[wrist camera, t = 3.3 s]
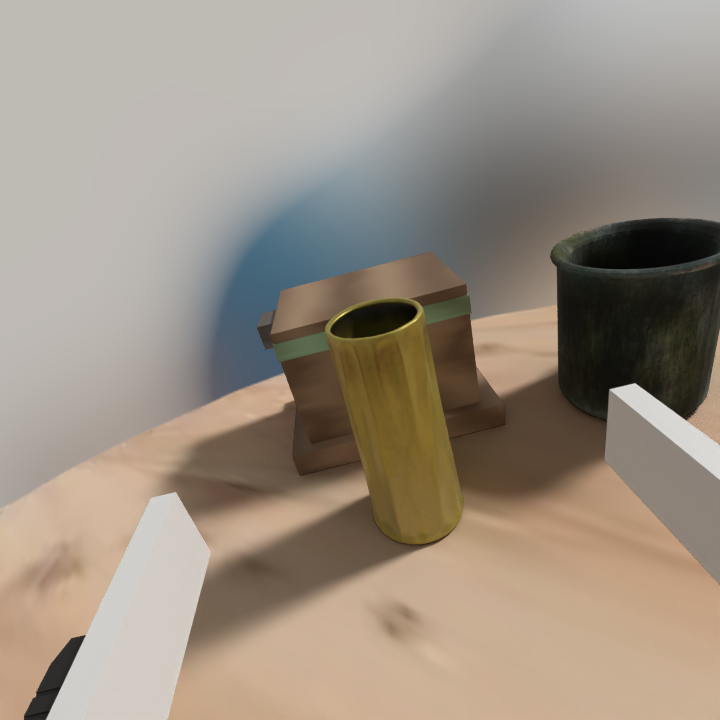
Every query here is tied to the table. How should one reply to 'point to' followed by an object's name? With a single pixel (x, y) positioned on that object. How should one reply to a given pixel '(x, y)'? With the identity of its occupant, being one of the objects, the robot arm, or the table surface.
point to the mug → (638, 311)
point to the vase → (397, 417)
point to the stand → (318, 373)
